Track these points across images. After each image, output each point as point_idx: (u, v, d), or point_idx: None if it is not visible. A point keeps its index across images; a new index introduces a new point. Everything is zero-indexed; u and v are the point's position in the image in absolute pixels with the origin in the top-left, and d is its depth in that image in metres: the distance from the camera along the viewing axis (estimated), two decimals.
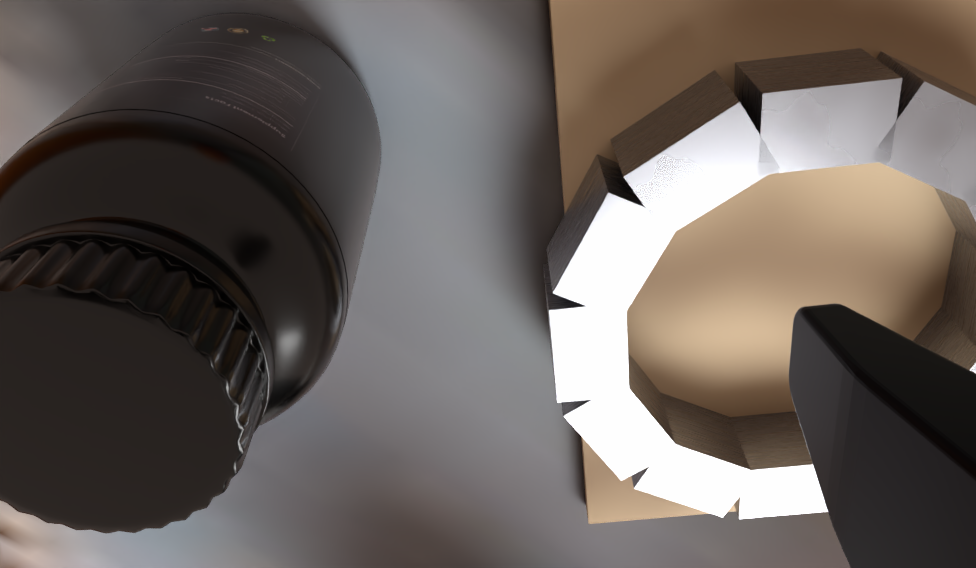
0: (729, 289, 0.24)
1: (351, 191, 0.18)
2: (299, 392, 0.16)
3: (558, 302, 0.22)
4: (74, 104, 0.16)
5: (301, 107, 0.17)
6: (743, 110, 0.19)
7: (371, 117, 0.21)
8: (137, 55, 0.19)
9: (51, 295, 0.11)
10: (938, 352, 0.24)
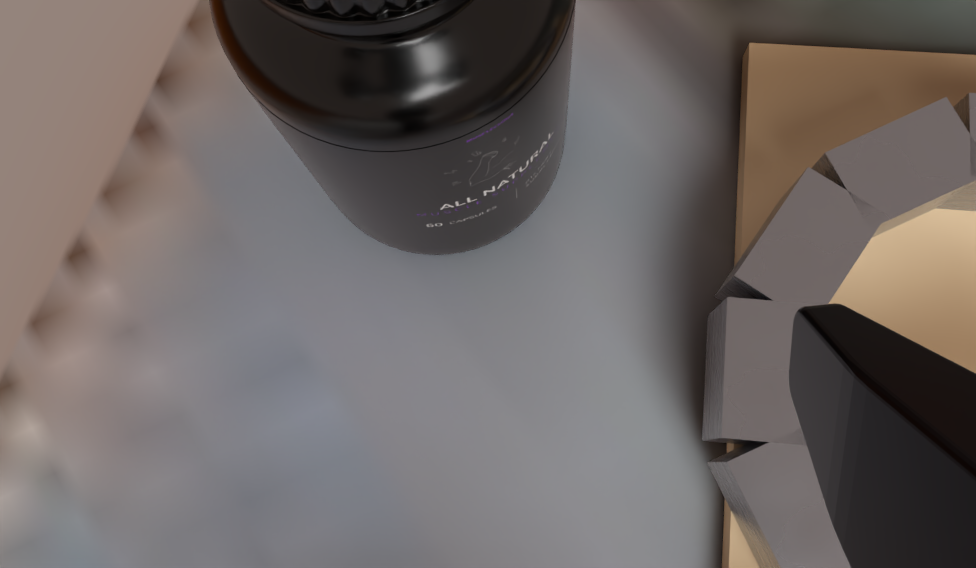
0: None
1: None
2: (499, 66, 0.14)
3: (737, 300, 0.19)
4: None
5: None
6: (950, 105, 0.19)
7: None
8: None
9: None
10: None
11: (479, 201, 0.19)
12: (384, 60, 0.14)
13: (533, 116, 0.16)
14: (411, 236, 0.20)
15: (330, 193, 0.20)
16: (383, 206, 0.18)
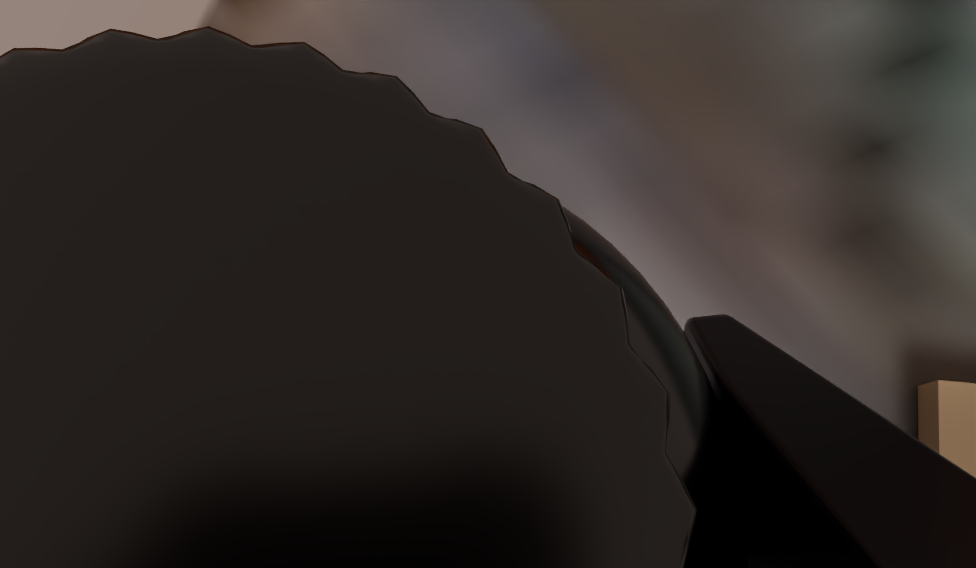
0: None
1: None
2: None
3: None
4: None
5: None
6: None
7: None
8: None
9: (265, 72, 0.04)
10: None
11: None
12: None
13: None
14: None
15: None
16: None
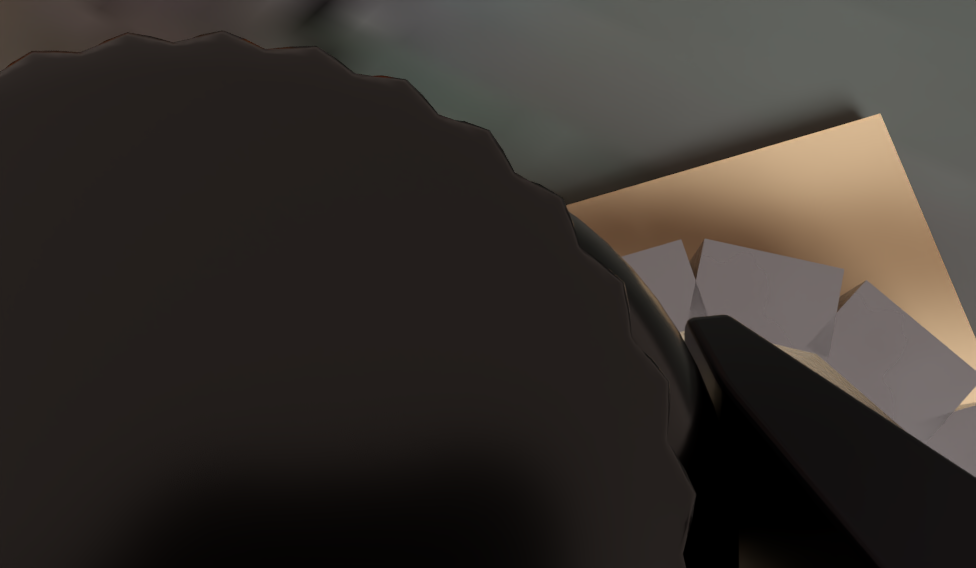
0: None
1: None
2: None
3: None
4: None
5: None
6: None
7: None
8: None
9: (279, 75, 0.04)
10: None
11: None
12: None
13: None
14: None
15: None
16: None
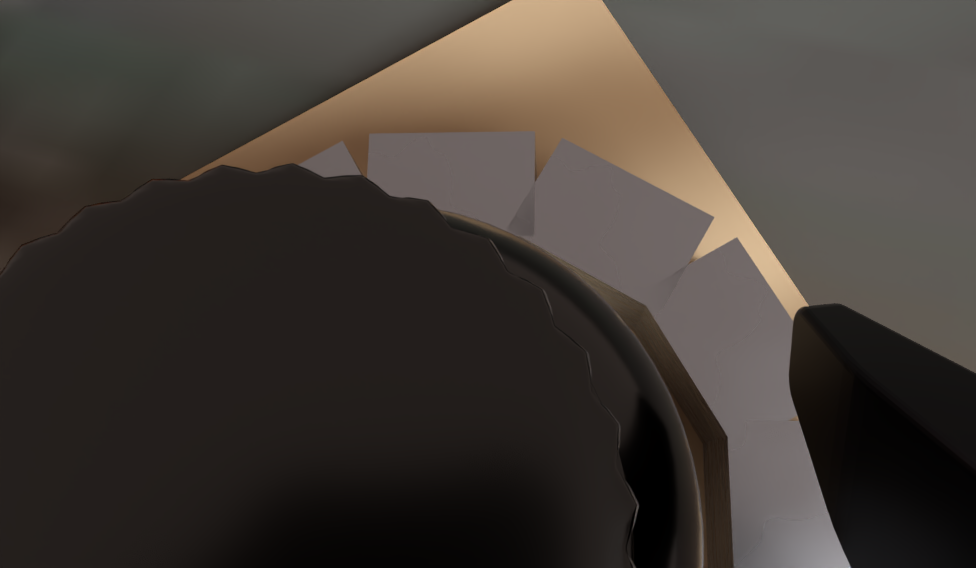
0: None
1: None
2: None
3: None
4: None
5: None
6: None
7: None
8: None
9: (334, 197, 0.05)
10: (715, 492, 0.15)
11: None
12: None
13: None
14: None
15: None
16: None
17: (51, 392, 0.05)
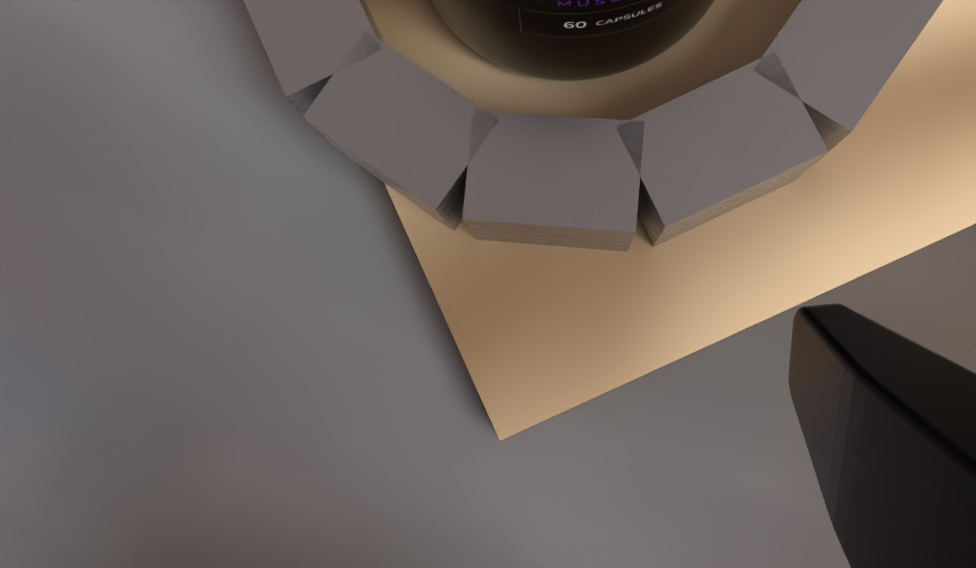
0: None
1: None
2: None
3: None
4: None
5: None
6: None
7: None
8: None
9: None
10: None
11: None
12: None
13: None
14: (537, 45, 0.15)
15: None
16: None
17: None
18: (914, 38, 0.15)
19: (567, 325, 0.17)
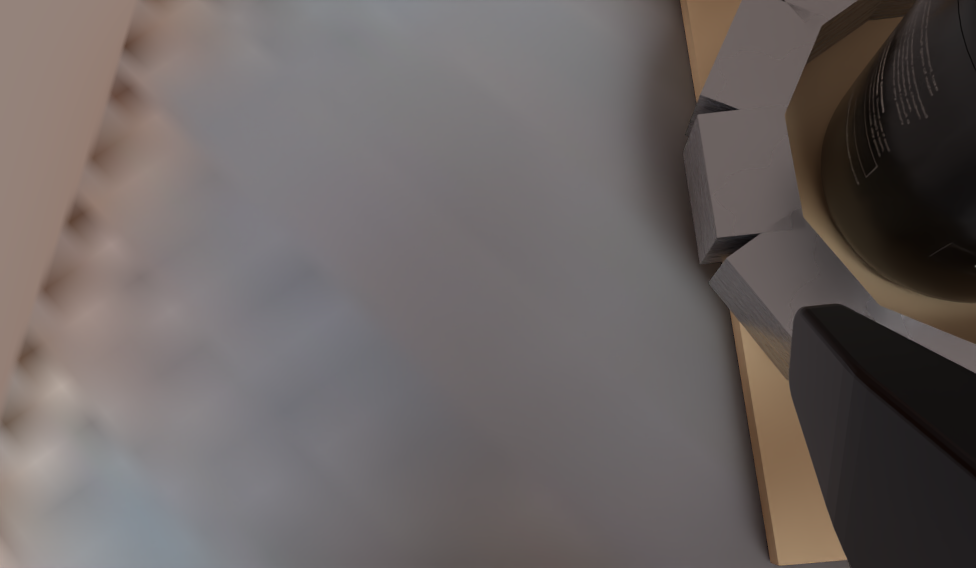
0: None
1: None
2: None
3: (707, 118, 0.20)
4: None
5: None
6: None
7: None
8: None
9: None
10: None
11: None
12: None
13: None
14: (932, 267, 0.19)
15: (885, 192, 0.18)
16: (969, 231, 0.17)
17: None
18: None
19: None
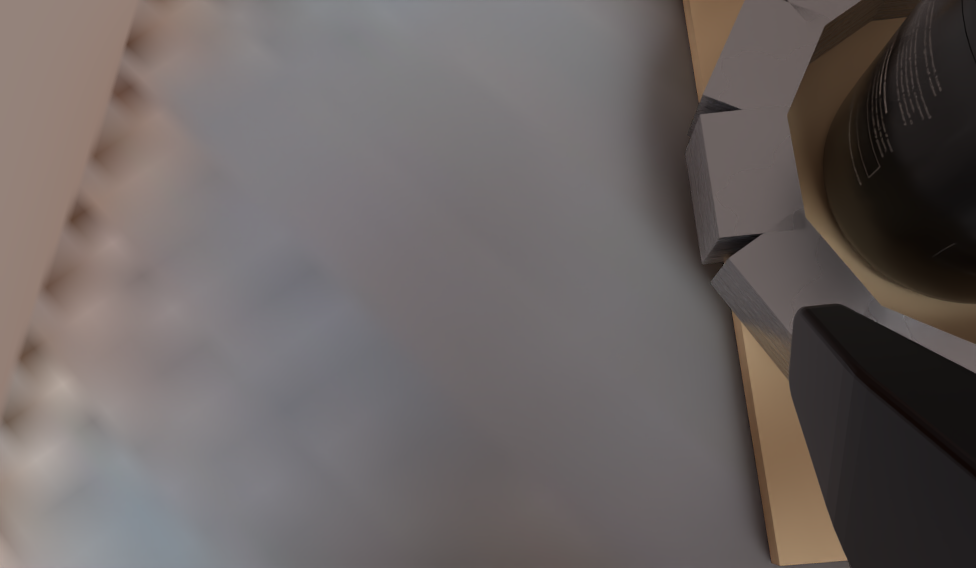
0: None
1: None
2: None
3: (709, 118, 0.20)
4: None
5: None
6: None
7: None
8: None
9: None
10: None
11: None
12: None
13: None
14: (934, 267, 0.19)
15: (887, 193, 0.18)
16: (972, 231, 0.17)
17: None
18: None
19: None
